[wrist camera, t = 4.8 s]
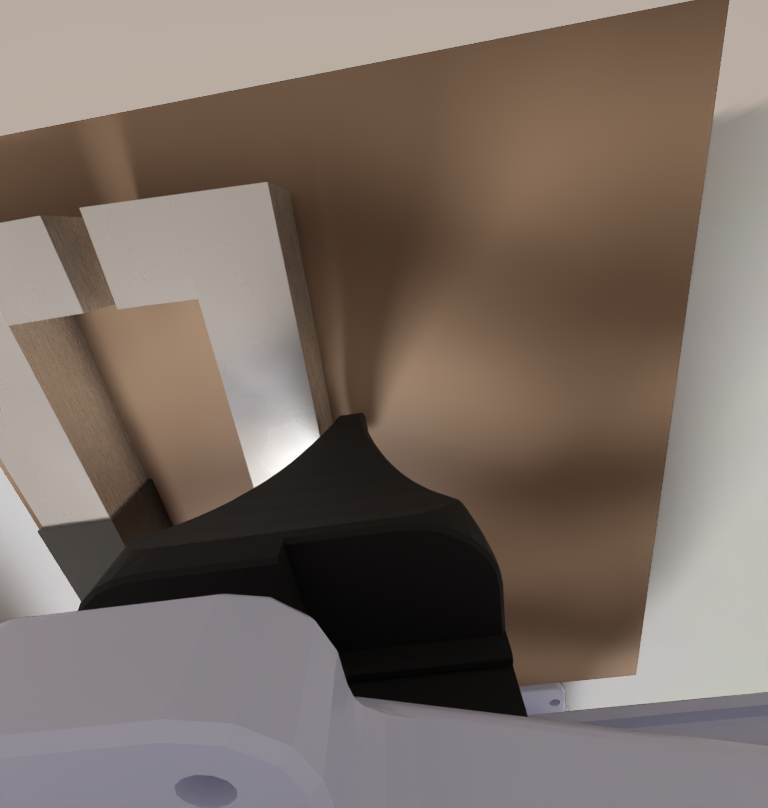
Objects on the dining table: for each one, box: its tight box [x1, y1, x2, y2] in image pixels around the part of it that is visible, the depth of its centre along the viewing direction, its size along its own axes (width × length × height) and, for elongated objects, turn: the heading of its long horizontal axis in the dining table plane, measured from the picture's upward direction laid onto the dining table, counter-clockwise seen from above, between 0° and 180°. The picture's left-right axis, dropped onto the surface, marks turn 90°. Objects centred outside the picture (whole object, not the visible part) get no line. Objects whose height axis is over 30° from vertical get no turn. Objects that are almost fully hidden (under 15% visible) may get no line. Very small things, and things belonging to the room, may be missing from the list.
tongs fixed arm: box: [0, 216, 173, 602], centre depth 12 cm, size 14×4×2 cm, turn 9°
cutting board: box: [0, 0, 729, 687], centre depth 14 cm, size 22×21×2 cm
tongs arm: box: [79, 182, 333, 488], centre depth 12 cm, size 18×6×2 cm, turn 7°
